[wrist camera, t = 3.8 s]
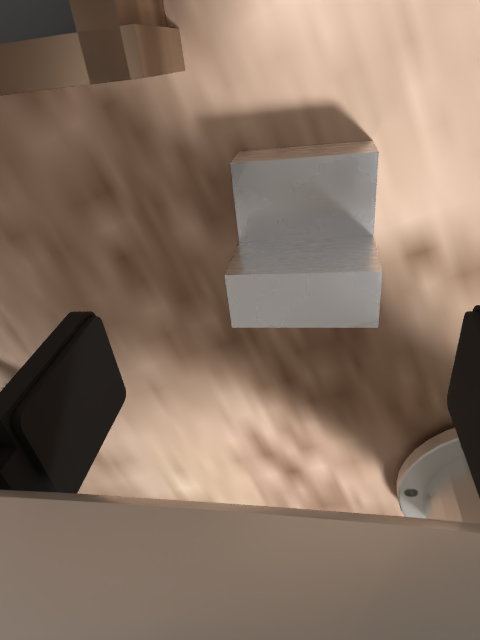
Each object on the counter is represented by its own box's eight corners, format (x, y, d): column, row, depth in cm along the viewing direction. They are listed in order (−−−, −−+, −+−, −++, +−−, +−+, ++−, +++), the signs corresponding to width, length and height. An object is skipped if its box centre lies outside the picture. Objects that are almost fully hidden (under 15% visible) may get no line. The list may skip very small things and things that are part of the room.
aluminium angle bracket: (372, 139, 19) (389, 174, 14) (365, 263, 22) (378, 327, 17) (239, 150, 20) (212, 186, 15) (251, 266, 23) (231, 327, 18)
